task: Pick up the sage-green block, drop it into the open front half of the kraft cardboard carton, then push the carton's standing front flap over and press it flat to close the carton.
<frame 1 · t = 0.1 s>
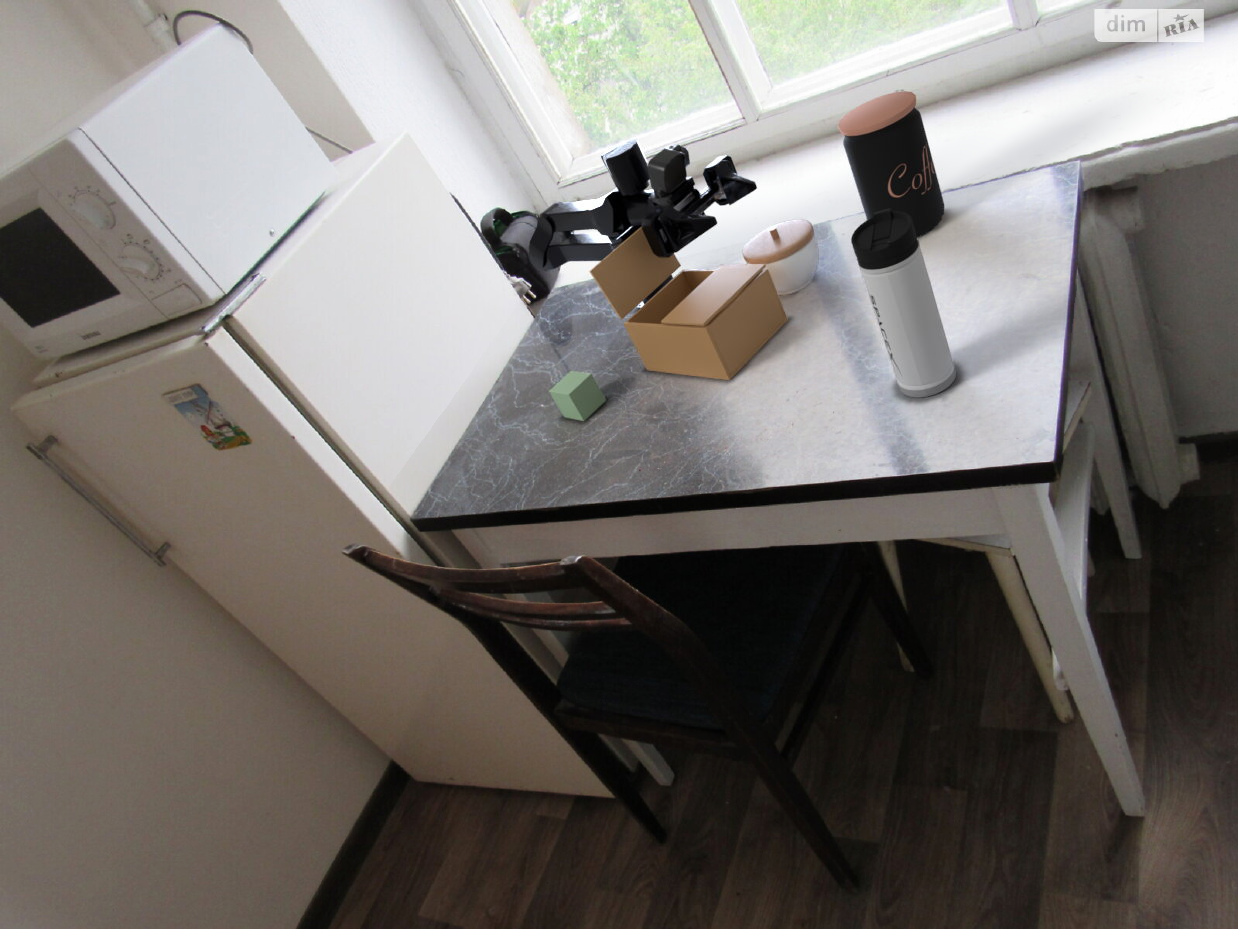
hand: (735, 202, 120), 17 cm above the table, tool horizontal, fingers open, 9 cm apart
coffee jar: (909, 227, 128), on the table
travel mug: (928, 381, 98), on the table
trinket box: (794, 284, 131), on the table
flap: (636, 268, 127), point 13 cm above the table, hinge at 100.0°
carton: (715, 345, 127), on the table
block: (585, 408, 130), on the table
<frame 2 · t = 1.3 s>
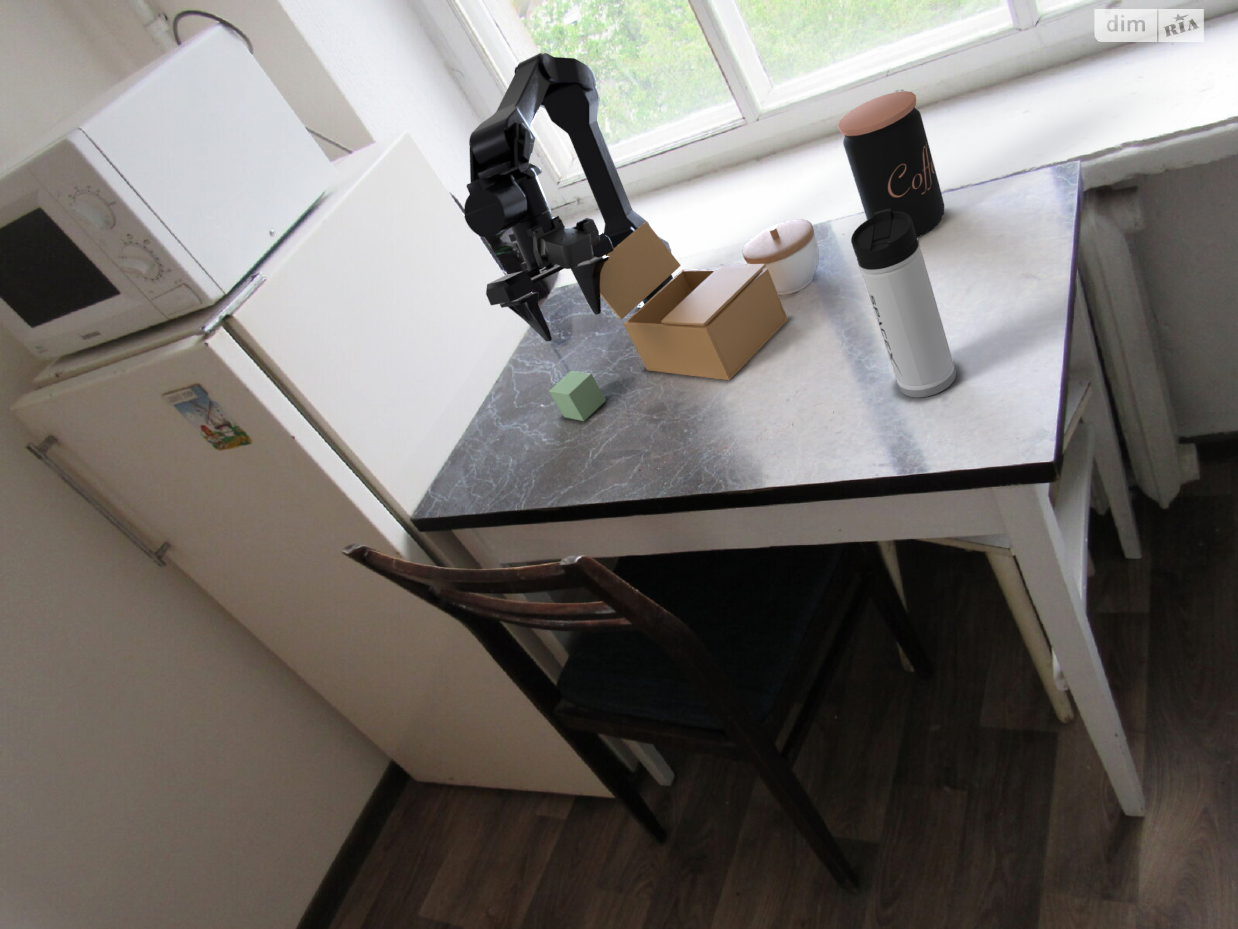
hand: (574, 327, 120), 13 cm above the table, tool pointing down, fingers open, 9 cm apart
flap: (633, 269, 127), point 13 cm above the table, hinge at 112.3°
everything else where it was.
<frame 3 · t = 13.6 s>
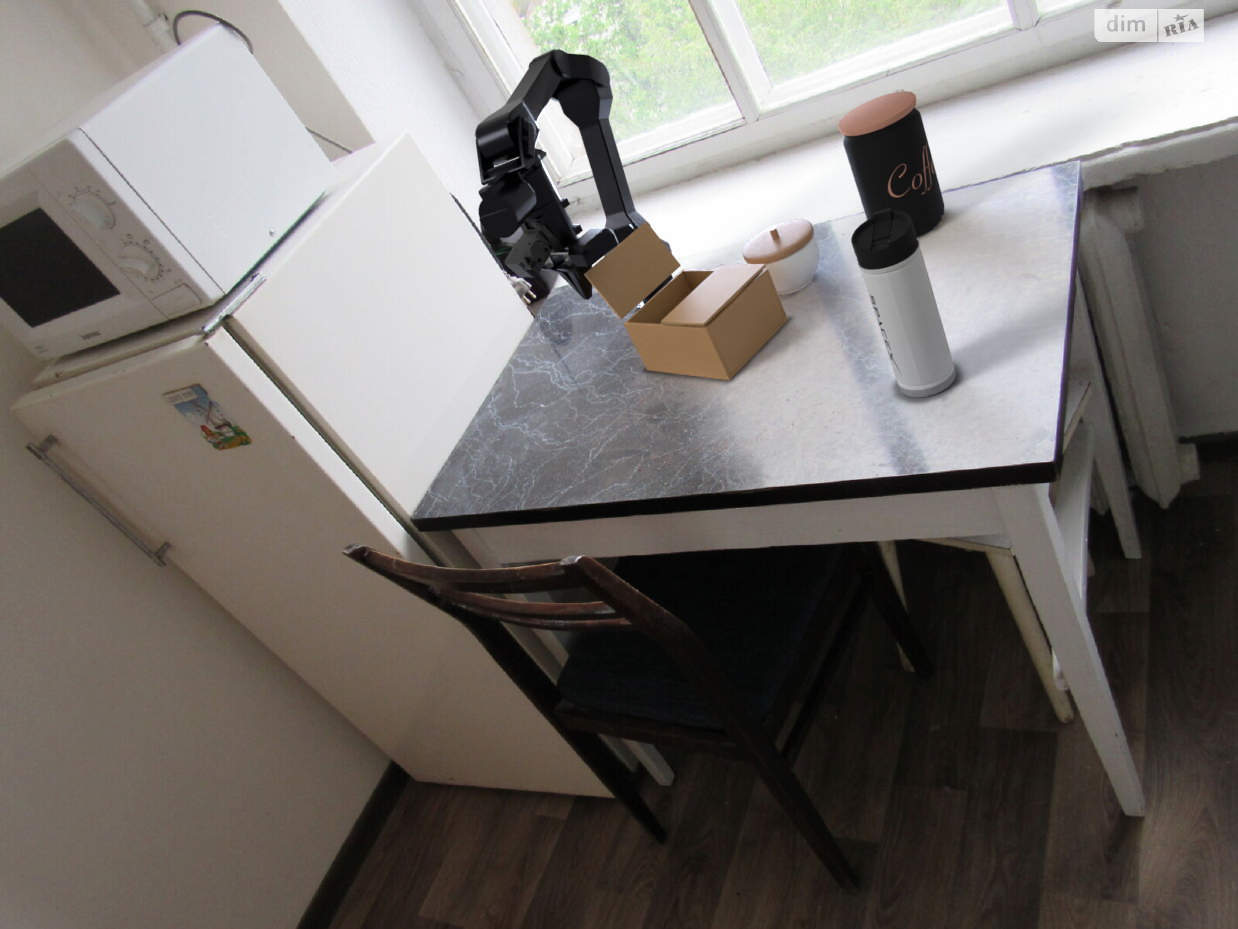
hand: (588, 298, 129), 12 cm above the table, tool pointing down, fingers closed
flap: (633, 269, 127), point 13 cm above the table, hinge at 111.6°
block: (695, 341, 129), resting on carton
everything else where it was.
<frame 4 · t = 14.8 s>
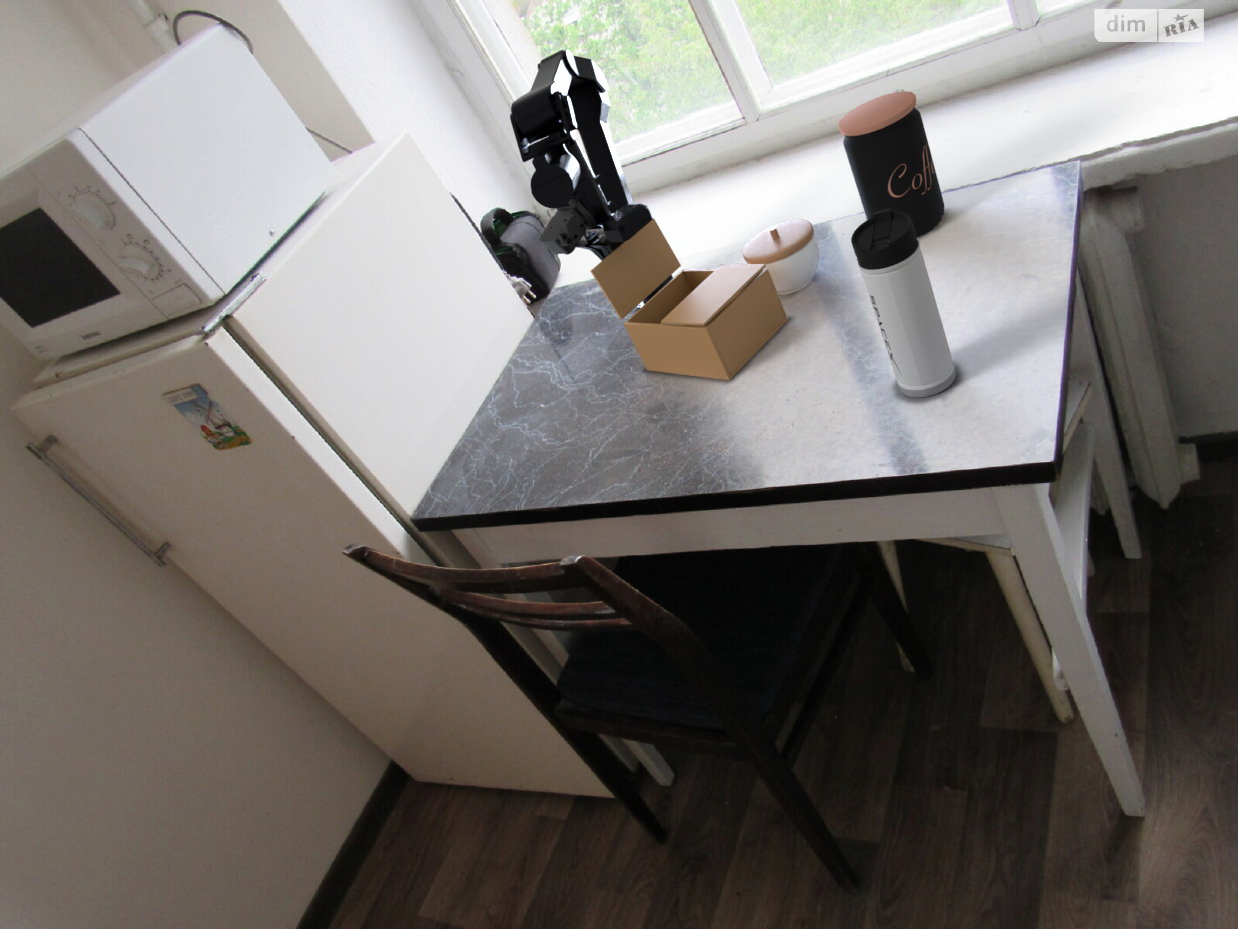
hand: (621, 275, 129), 13 cm above the table, tool pointing down, fingers closed
flap: (637, 268, 127), point 13 cm above the table, hinge at 98.1°
everything else where it was.
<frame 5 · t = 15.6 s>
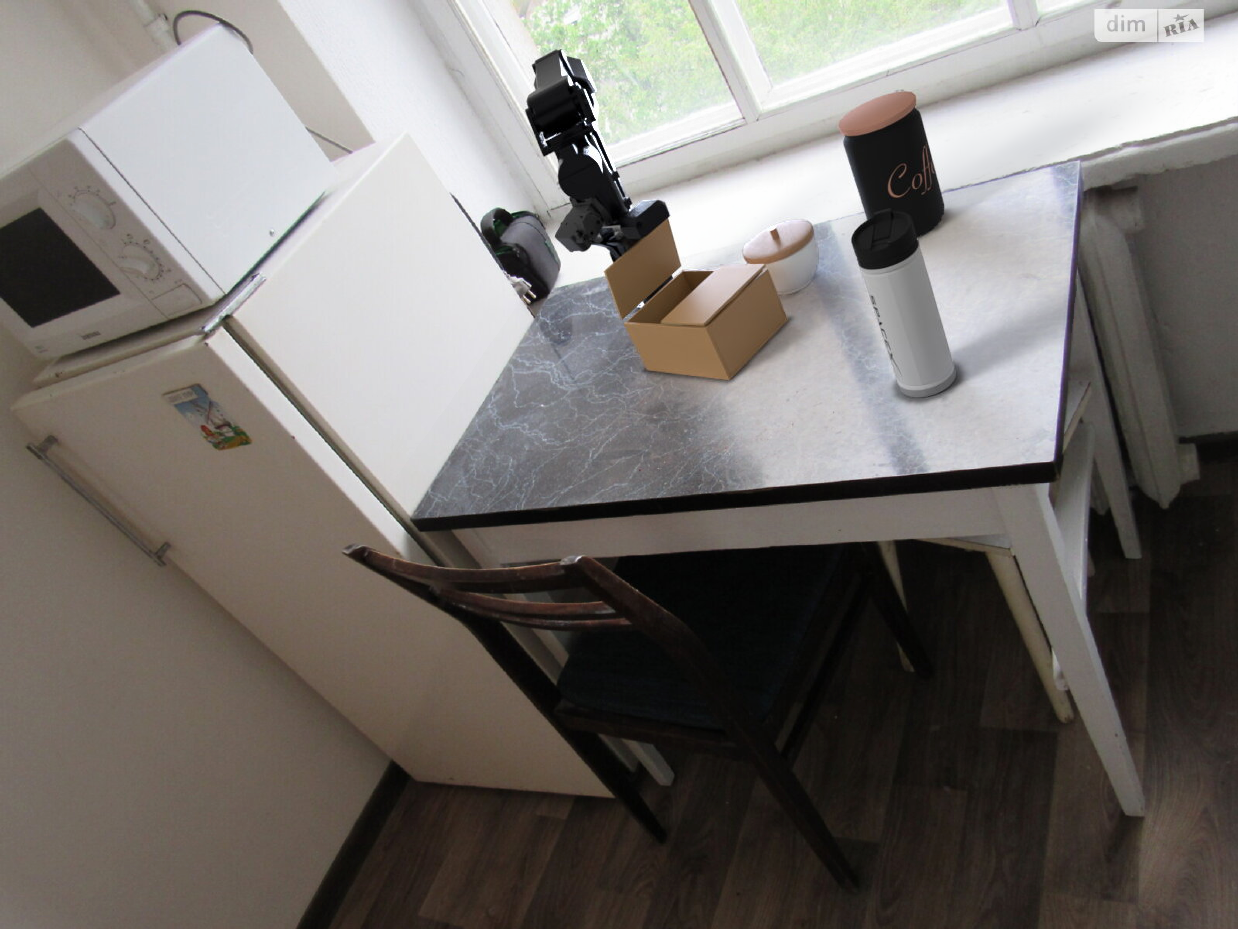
hand: (636, 272, 127), 13 cm above the table, tool pointing down, fingers closed
flap: (644, 268, 125), point 13 cm above the table, hinge at 77.2°, touching gripper
everything else where it was.
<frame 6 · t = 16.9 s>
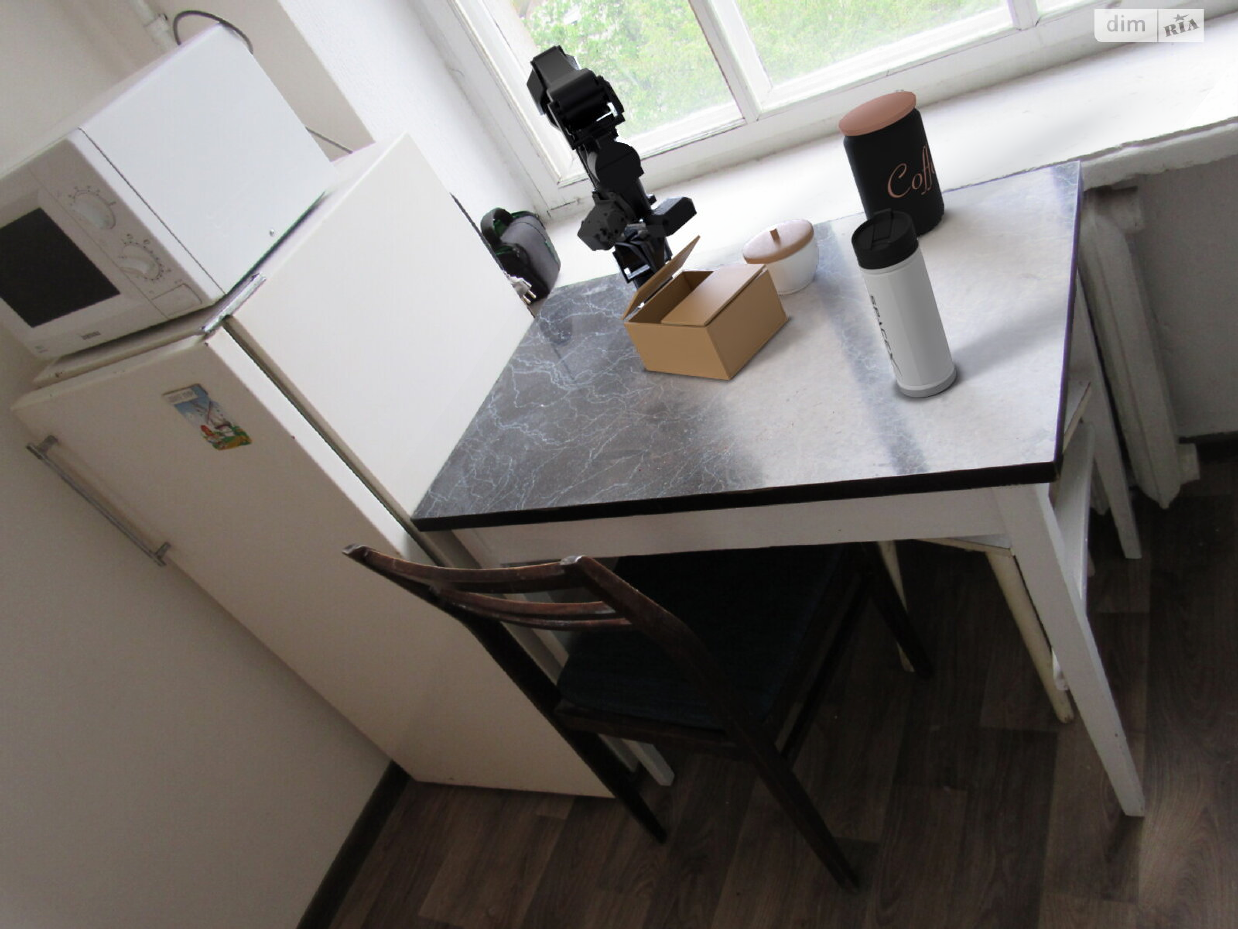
hand: (660, 272, 123), 13 cm above the table, tool pointing down, fingers closed
flap: (660, 278, 124), point 12 cm above the table, hinge at 36.1°, touching gripper
everything else where it was.
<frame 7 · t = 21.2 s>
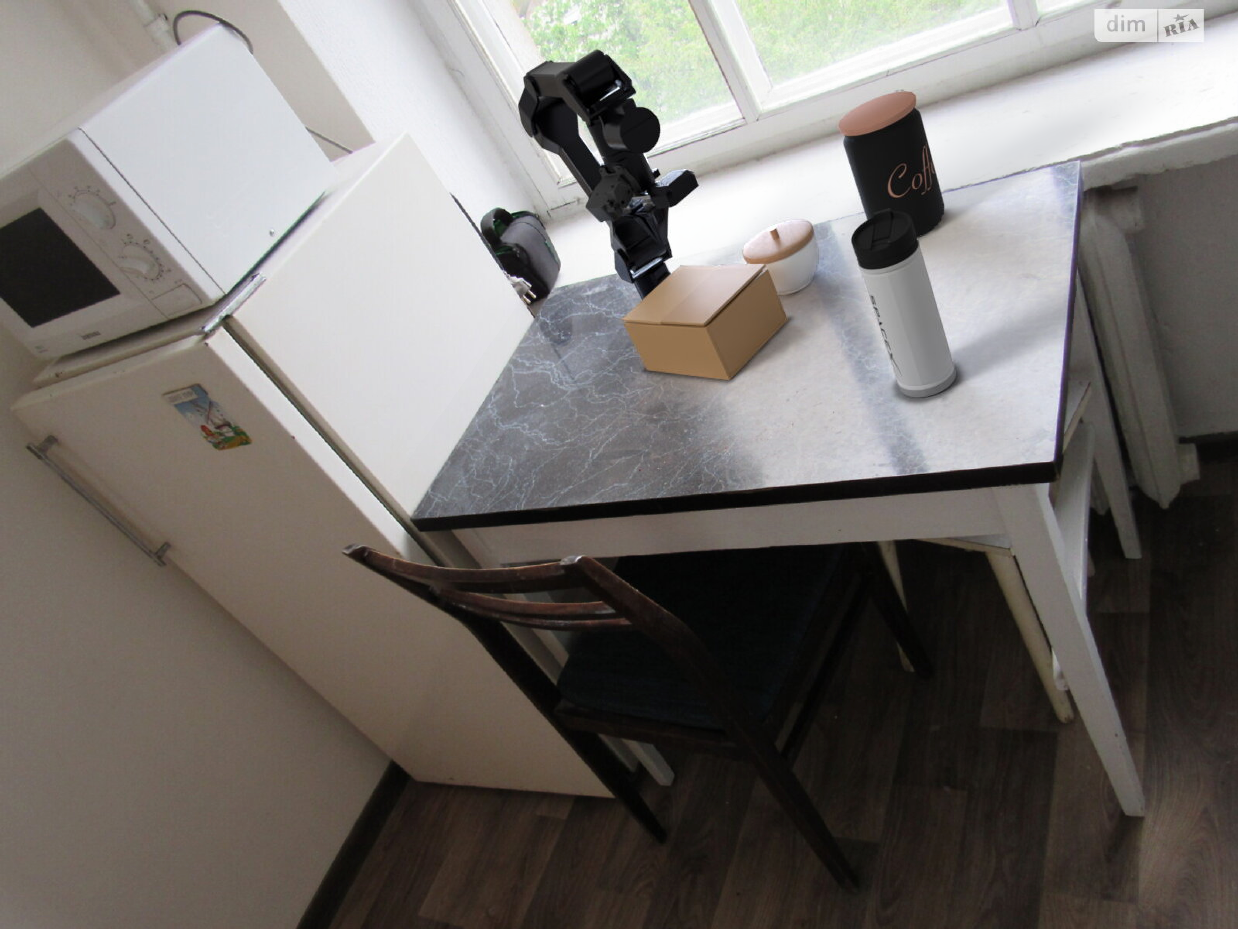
hand: (663, 243, 130), 13 cm above the table, tool pointing down, fingers closed
flap: (671, 293, 125), point 9 cm above the table, hinge at -1.0°
everything else where it was.
at the end: block inside the target area in the carton (4.0 cm from its centre), point 0.5 cm above the carton's base; flap at -1° (first picture: +100°) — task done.
